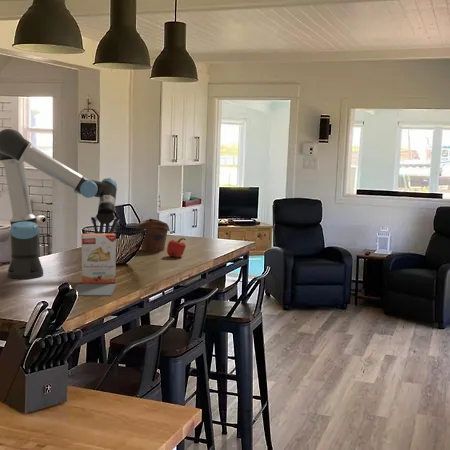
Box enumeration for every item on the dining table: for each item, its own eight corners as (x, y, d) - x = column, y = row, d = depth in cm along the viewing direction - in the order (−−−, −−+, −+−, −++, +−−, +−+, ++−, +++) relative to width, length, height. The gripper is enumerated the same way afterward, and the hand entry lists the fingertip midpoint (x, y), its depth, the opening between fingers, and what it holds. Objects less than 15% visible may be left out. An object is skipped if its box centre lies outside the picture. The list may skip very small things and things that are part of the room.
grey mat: (69, 295, 242) (69, 294, 242) (78, 284, 262) (78, 283, 262) (111, 295, 243) (111, 294, 243) (116, 284, 263) (116, 283, 263)
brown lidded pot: (151, 246, 369) (151, 215, 367) (176, 250, 357) (176, 219, 354) (128, 250, 356) (128, 218, 353) (153, 254, 343) (153, 221, 341)
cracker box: (82, 285, 262) (81, 235, 259) (81, 282, 268) (81, 233, 265) (116, 283, 265) (116, 234, 263) (114, 280, 271) (114, 232, 269)
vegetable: (181, 254, 342) (181, 236, 341) (190, 257, 334) (190, 238, 332) (163, 256, 336) (163, 237, 335) (172, 259, 328) (172, 240, 327)
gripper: (91, 201, 287) (86, 243, 273) (120, 202, 288) (116, 243, 274) (93, 212, 293) (88, 253, 279) (121, 212, 294) (117, 253, 279)
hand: (102, 248), depth 276 cm, fingers closed
